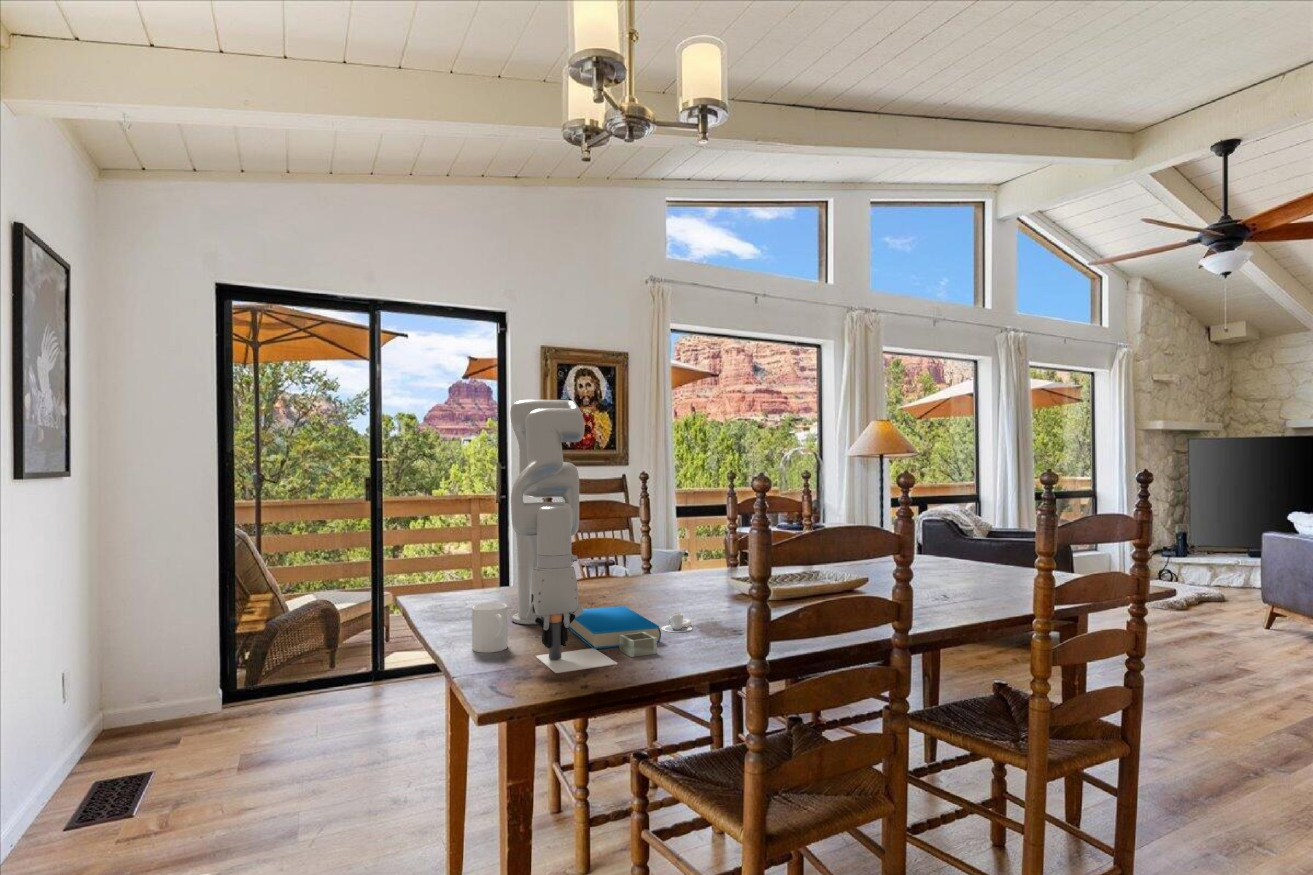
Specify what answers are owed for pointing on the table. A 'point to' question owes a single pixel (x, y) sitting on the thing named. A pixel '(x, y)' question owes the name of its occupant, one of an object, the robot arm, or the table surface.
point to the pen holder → (638, 644)
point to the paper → (576, 660)
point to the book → (610, 626)
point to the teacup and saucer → (678, 623)
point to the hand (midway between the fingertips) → (554, 645)
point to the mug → (489, 627)
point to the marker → (555, 636)
